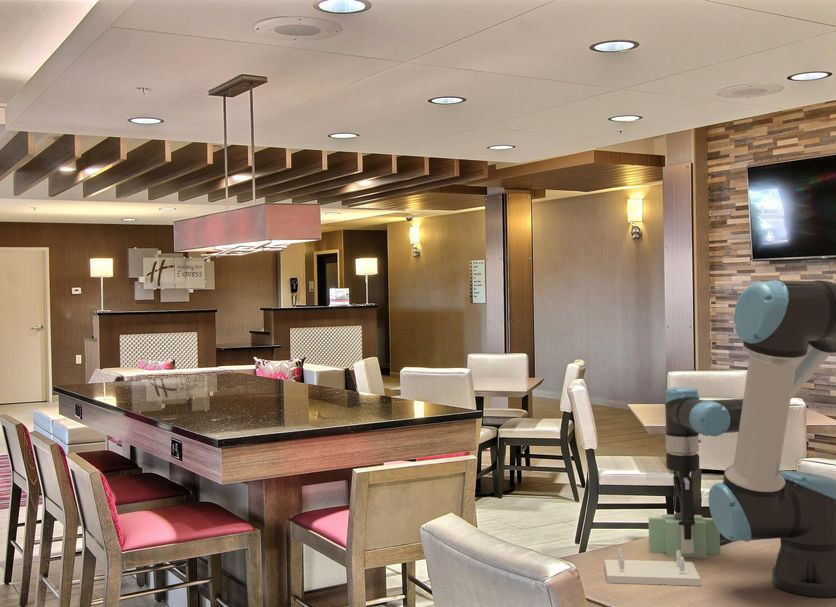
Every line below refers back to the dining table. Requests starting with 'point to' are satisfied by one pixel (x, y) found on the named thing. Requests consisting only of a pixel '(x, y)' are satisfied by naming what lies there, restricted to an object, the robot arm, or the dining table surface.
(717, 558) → the dining table surface
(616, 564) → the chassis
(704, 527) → the green stepped block
